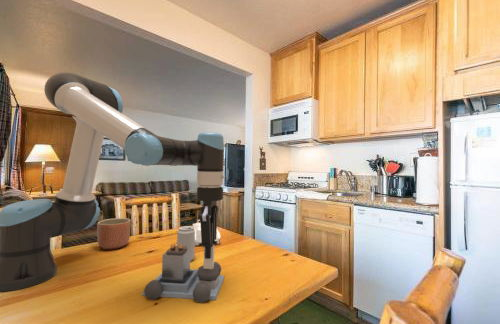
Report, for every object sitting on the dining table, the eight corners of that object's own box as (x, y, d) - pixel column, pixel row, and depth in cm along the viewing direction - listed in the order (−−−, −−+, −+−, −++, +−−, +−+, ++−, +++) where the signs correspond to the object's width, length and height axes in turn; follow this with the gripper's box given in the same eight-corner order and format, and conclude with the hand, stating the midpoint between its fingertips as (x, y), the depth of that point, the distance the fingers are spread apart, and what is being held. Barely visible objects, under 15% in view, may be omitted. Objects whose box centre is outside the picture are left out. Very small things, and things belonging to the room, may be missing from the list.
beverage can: (185, 264, 84) (186, 230, 84) (172, 261, 87) (173, 228, 88) (198, 258, 90) (198, 226, 90) (185, 255, 93) (186, 224, 93)
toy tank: (215, 235, 121) (215, 216, 121) (221, 248, 102) (222, 225, 102) (191, 236, 118) (191, 217, 118) (193, 250, 98) (193, 227, 99)
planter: (91, 253, 94) (92, 225, 94) (102, 243, 106) (103, 218, 106) (125, 251, 97) (126, 224, 97) (133, 241, 109) (133, 217, 109)
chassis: (139, 298, 62) (139, 282, 62) (164, 273, 77) (164, 259, 78) (214, 303, 61) (214, 286, 61) (225, 276, 76) (225, 262, 76)
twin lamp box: (161, 287, 67) (162, 248, 67) (170, 277, 73) (171, 241, 73) (182, 288, 66) (183, 249, 66) (189, 278, 72) (190, 242, 72)
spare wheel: (195, 286, 66) (195, 272, 66) (201, 276, 72) (201, 264, 72) (216, 287, 65) (216, 274, 65) (220, 277, 71) (221, 265, 71)
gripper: (218, 188, 62) (216, 279, 62) (226, 184, 75) (225, 259, 75) (190, 188, 63) (188, 277, 62) (203, 184, 76) (202, 258, 75)
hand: (208, 267), depth 69 cm, fingers closed
